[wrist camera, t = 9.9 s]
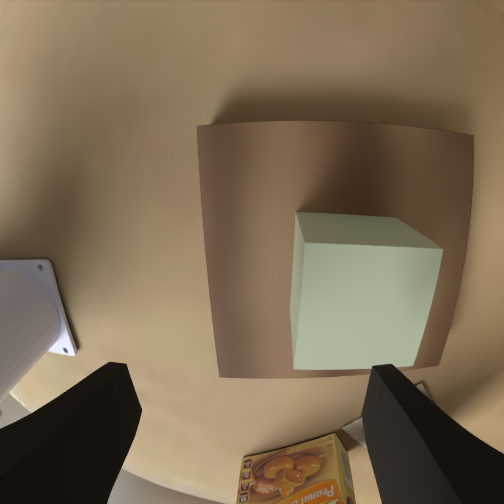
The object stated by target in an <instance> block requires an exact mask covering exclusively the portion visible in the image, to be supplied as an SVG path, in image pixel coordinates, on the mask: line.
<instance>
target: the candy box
mask: <svg viewBox="0 0 504 504" xmlns="http://www.w3.org/2000/svg"><path fill="white" fill-rule="evenodd" d="M236 504H356V501H355V494H354V488H353V481H352V475H351V469H350V463H349V458H348V453H347V452H346V450H345V449H344V447H343V445H342V443H341V442H340V440H339V438H338V437H337V435H336V434H335V433H333V434H330V435H327V436H324V437H321V438H318V439H315V440H312V441H308V442H305V443H301V444H298V445H294V446H291V447H287V448H284V449H279V450H276V451H271V452H267V453H263V454H259V455H252V456H246V457H243V458H242V462H241V470H240V479H239V486H238V495H237V501H236Z"/></svg>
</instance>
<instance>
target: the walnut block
mask: <svg viewBox="0 0 504 504" xmlns="http://www.w3.org/2000/svg"><path fill="white" fill-rule="evenodd" d="M197 139H198V158H199V174H200V189H201V203H202V216H203V229H204V241H205V252H206V263H207V273H208V283H209V293H210V303H211V312H212V321H213V329H214V338H215V346H216V354H217V362H218V370H219V377H225V378H317V377H337V376H352V375H364V374H371V369H342V370H298V369H293V351H292V334H291V318H290V300H291V285H292V270H293V254H294V236H295V216H296V212H309V213H329V214H347V215H364V216H379V217H393V218H398V219H399V220H401V221H402V222H404V223H405V224H407V225H408V226H410V227H412V228H413V229H415V230H416V231H418V232H419V233H421V234H422V235H424V236H425V237H427V238H428V239H430V240H431V241H433V242H434V243H435V244H437V245H438V246H440V247H441V248H443V254H442V259H441V264H440V269H439V274H438V279H437V283H436V288H435V292H434V296H433V300H432V304H431V308H430V312H429V315H428V319H427V323H426V326H425V330H424V333H423V336H422V340H421V343H420V346H419V349H418V352H417V356H416V359H415V361H414V364H413V366H406V367H396V368H397V369H398V370H399V371H402V370H410V369H418V368H425V367H431V366H438V365H439V363H440V360H441V357H442V354H443V350H444V347H445V344H446V340H447V337H448V333H449V329H450V326H451V322H452V318H453V314H454V310H455V305H456V301H457V297H458V292H459V287H460V282H461V277H462V272H463V266H464V260H465V254H466V247H467V240H468V232H469V224H470V214H471V203H472V188H473V164H474V135H468V134H462V133H456V132H450V131H443V130H436V129H428V128H420V127H411V126H401V125H390V124H377V123H362V122H340V121H264V122H242V123H226V124H213V125H202V126H197Z"/></svg>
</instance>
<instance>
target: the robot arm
mask: <svg viewBox="0 0 504 504" xmlns="http://www.w3.org/2000/svg"><path fill="white" fill-rule="evenodd" d="M41 266H42V267H41ZM42 268H43V269H42ZM47 351H48V352H53V353H59V354H64V355H69V356H75V355H76V354H77V348H76V345H75V343H74V340H73V337H72V334H71V331H70V328H69V325H68V322H67V318H66V315H65V312H64V309H63V305H62V302H61V298H60V295H59V291H58V287H57V283H56V279H55V275H54V271H53V267H52V264H51V262H50V261H49V260H47V259H35V260H0V402H1V401H2V400H3V398H4V397H5V396H6V395H7V394H8V393H9V392H10V391H11V390H12V388H13V387H14V386H15V385H16V384H17V383H18V382H19V381H20V380H21V379H22V377H23V376H24V375H25V374H26V373H27V372H28V371H29V370H30V369H31V368H32V367H33V366H34V365H35V364H36V363H37V361H38V360H39V359H40V358H41V357H42V356H43V355H44V354H45V353H46V352H47ZM141 413H142V408H141V405H140V403H139V400H138V397H137V394H136V391H135V389H134V386H133V383H132V380H131V377H130V374H129V371H128V368H127V364H124V363H116V362H108V363H107V364H105V365H103V366H102V367H100V368H99V369H97V370H96V371H94V372H93V373H91V374H90V375H89V376H87V377H86V378H84V379H83V380H81V381H80V382H79V383H77V384H76V385H74V386H73V387H71V388H70V389H68V390H67V391H66V392H64V393H63V394H61V395H60V396H58V397H57V398H55V399H54V400H52V401H50V402H49V403H47V404H46V405H44V406H42V407H41V408H39V409H38V410H36V411H34V412H33V413H31V414H29V415H27V416H26V417H24V418H22V419H20V420H18V421H16V422H14V423H12V424H10V425H7V426H5V427H3V428H1V429H0V504H107V502H108V499H109V496H110V493H111V491H112V488H113V486H114V483H115V481H116V479H117V476H118V474H119V472H120V470H121V467H122V465H123V463H124V461H125V458H126V456H127V454H128V452H129V449H130V447H131V445H132V442H133V440H134V438H135V435H136V431H137V428H138V425H139V421H140V417H141ZM2 415H3V413H2V411H1V410H0V417H1V416H2ZM361 415H362V421H363V428H364V435H365V441H366V446H367V449H368V453H369V456H370V460H371V464H372V467H373V471H374V475H375V478H376V482H377V486H378V489H379V493H380V497H381V501H382V504H504V454H503V453H501V452H500V451H498V450H496V449H494V448H493V447H491V446H490V445H488V444H486V443H485V442H483V441H482V440H480V439H479V438H477V437H476V436H474V435H473V434H471V433H470V432H469V431H467V430H466V429H465V428H463V427H462V426H461V425H459V424H458V423H457V422H456V421H454V420H453V419H452V418H451V417H449V416H448V415H447V414H446V413H445V412H443V411H442V410H441V409H440V408H439V407H438V406H437V405H435V404H434V403H433V402H432V401H431V400H430V399H429V398H428V397H427V396H426V395H424V394H423V393H422V392H421V391H420V390H419V389H418V388H417V387H416V386H415V385H414V384H413V383H412V382H411V381H410V380H409V379H408V378H407V377H406V376H405V375H404V374H403V373H401V372H400V371H399V370H398V369H397V368H396V367H395V366H394V365H393V364H383V365H374V366H372V369H371V374H370V379H369V384H368V388H367V393H366V397H365V401H364V405H363V410H362V414H361Z"/></svg>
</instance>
